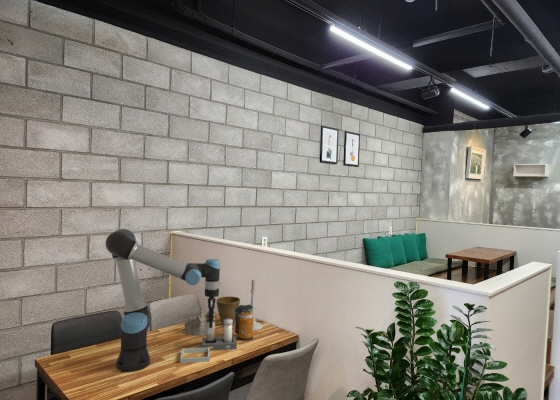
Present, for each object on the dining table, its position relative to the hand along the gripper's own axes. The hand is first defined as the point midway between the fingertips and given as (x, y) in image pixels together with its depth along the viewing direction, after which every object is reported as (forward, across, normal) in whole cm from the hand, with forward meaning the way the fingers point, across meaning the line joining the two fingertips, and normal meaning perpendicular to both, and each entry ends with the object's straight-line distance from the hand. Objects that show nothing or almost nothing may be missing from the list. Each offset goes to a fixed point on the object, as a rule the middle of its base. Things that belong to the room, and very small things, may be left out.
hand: (210, 331), depth 203 cm
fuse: (+8, 0, -9) cm, 12 cm away
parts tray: (+9, -12, +7) cm, 17 cm away
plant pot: (+9, +36, -11) cm, 39 cm away
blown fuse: (+4, 0, 0) cm, 4 cm away
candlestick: (+9, +30, -26) cm, 41 cm away
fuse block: (+9, 0, -5) cm, 10 cm away
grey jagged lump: (+10, +24, +6) cm, 27 cm away
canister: (+9, +10, -19) cm, 23 cm away
